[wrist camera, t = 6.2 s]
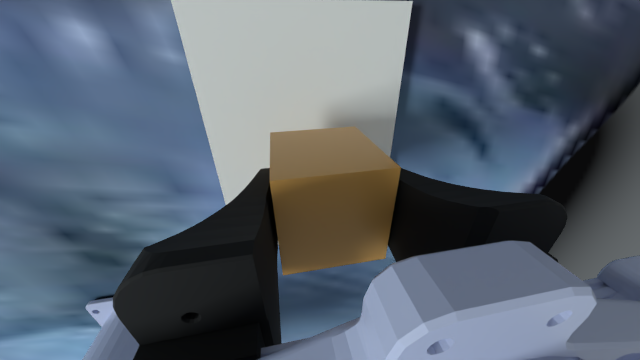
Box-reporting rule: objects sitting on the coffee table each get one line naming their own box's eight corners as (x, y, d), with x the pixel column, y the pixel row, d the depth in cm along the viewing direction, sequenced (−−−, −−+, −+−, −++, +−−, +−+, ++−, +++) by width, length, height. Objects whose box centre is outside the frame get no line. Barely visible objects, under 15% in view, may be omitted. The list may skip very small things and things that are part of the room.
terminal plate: (375, 222, 21) (398, 260, 17) (239, 241, 19) (231, 289, 15) (403, 4, 13) (458, -16, 9) (178, 2, 11) (129, -25, 7)
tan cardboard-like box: (351, 196, 14) (385, 258, 10) (279, 204, 14) (283, 275, 9) (355, 126, 12) (400, 167, 8) (270, 132, 11) (269, 181, 7)
